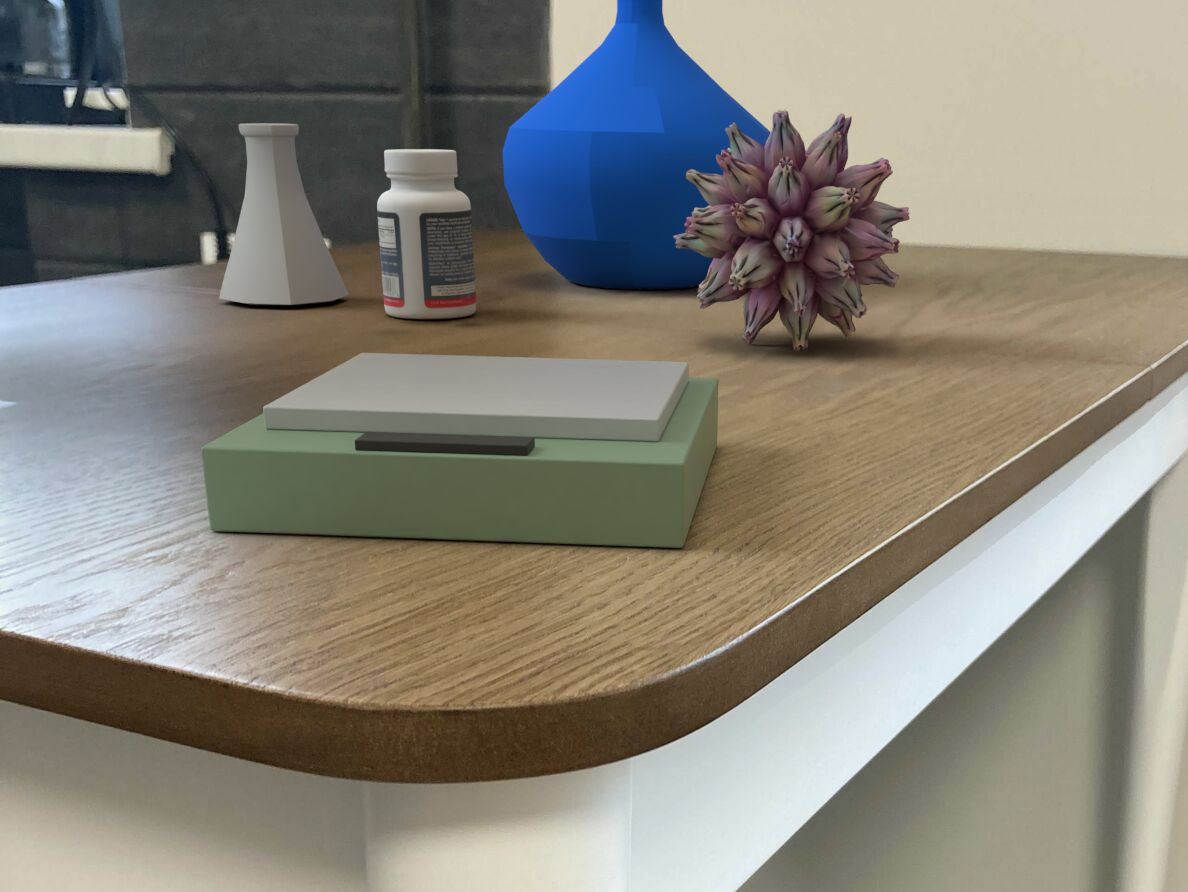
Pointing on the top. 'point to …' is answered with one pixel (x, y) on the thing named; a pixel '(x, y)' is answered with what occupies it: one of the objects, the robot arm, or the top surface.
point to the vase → (622, 158)
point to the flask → (277, 229)
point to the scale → (474, 452)
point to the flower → (792, 229)
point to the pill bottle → (425, 237)
